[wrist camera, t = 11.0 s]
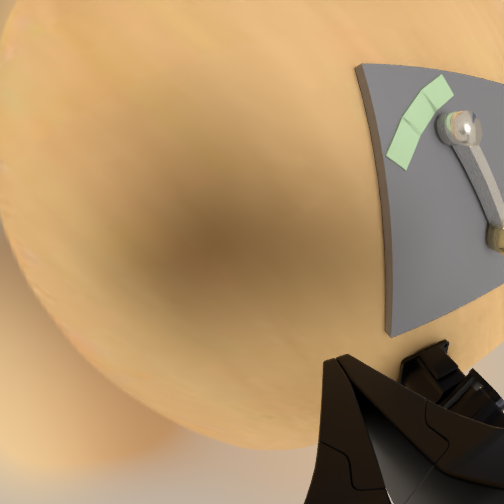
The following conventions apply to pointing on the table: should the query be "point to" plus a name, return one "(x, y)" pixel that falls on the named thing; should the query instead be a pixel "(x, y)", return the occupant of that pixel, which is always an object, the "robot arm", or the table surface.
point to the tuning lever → (475, 168)
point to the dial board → (431, 190)
